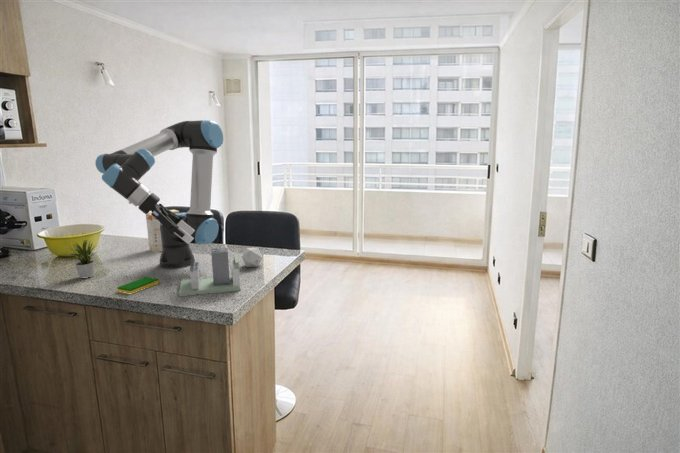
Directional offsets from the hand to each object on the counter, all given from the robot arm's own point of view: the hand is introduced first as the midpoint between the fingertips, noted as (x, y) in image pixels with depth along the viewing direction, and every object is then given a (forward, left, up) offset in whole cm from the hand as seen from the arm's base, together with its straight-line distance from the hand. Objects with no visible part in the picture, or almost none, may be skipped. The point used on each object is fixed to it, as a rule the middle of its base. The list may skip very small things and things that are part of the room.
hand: (191, 237), depth 166 cm
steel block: (0, +10, -19) cm, 21 cm away
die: (-24, +23, -21) cm, 39 cm away
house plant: (-30, -46, -21) cm, 58 cm away
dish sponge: (-8, -22, -21) cm, 31 cm away
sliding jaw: (0, 0, -19) cm, 19 cm away
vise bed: (0, +5, -20) cm, 21 cm away
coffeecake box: (-69, -18, -21) cm, 74 cm away
